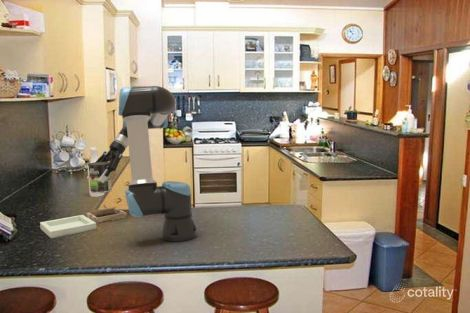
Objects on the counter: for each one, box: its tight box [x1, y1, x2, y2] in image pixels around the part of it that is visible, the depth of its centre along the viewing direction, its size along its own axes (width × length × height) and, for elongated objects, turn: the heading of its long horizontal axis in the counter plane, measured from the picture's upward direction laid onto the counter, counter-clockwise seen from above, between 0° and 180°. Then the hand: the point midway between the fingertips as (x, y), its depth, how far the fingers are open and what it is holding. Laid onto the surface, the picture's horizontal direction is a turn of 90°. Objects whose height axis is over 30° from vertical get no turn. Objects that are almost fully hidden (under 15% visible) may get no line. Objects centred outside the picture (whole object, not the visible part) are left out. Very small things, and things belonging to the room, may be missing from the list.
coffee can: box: [87, 161, 113, 194], centre depth 227 cm, size 10×10×14 cm
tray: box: [39, 214, 97, 240], centre depth 212 cm, size 20×20×3 cm
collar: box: [85, 206, 128, 224], centre depth 230 cm, size 15×15×2 cm
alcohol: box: [87, 146, 106, 198], centre depth 282 cm, size 9×9×30 cm
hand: (94, 180), depth 225 cm, fingers closed on coffee can, 10 cm apart
